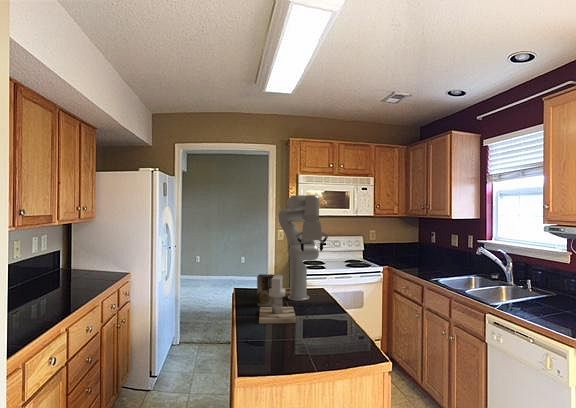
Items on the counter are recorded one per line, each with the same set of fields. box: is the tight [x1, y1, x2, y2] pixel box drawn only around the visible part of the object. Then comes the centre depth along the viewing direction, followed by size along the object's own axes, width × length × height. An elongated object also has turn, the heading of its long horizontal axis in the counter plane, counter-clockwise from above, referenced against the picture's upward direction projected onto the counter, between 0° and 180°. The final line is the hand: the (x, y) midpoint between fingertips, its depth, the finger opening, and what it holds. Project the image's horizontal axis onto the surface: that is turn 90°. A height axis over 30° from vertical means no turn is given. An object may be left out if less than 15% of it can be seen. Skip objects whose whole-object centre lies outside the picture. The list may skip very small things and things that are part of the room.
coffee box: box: [256, 273, 275, 307], centre depth 191 cm, size 9×6×16 cm
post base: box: [258, 297, 297, 325], centre depth 170 cm, size 20×17×10 cm
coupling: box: [269, 274, 291, 298], centre depth 170 cm, size 10×11×9 cm
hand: (311, 251), depth 184 cm, fingers open, 9 cm apart
